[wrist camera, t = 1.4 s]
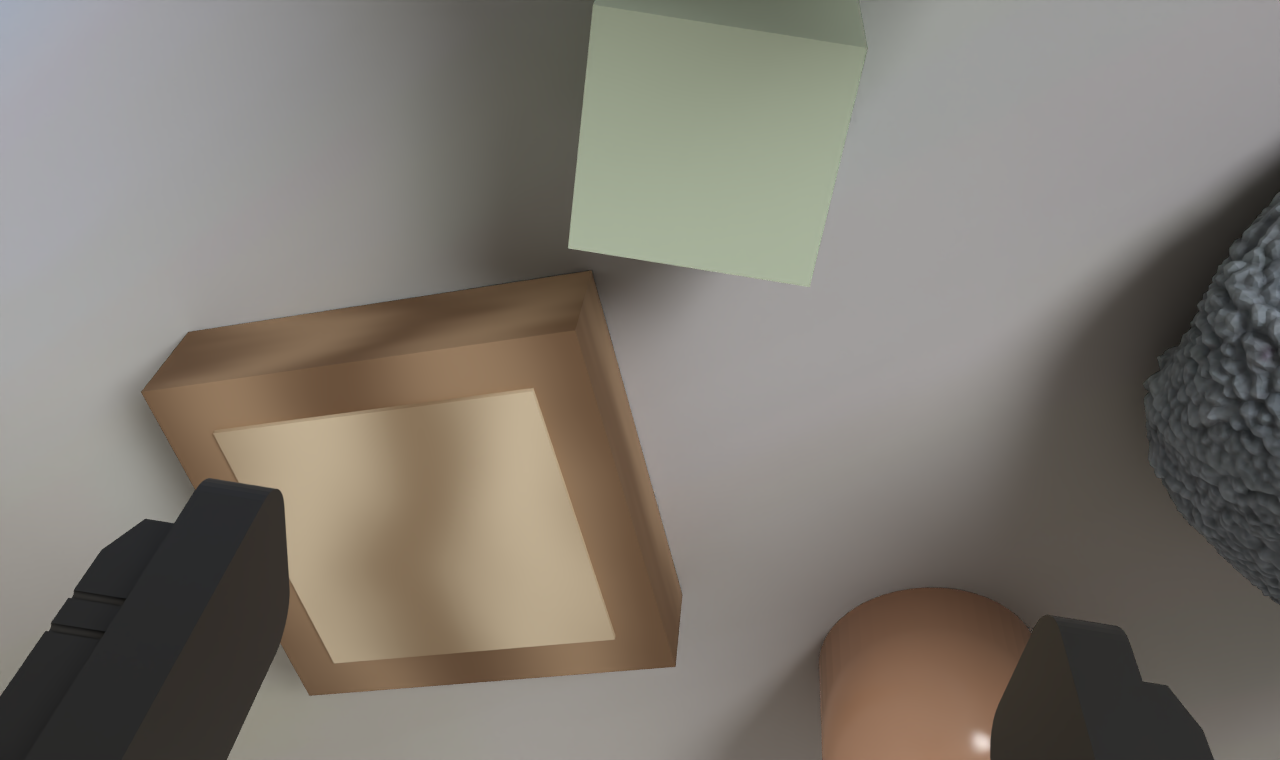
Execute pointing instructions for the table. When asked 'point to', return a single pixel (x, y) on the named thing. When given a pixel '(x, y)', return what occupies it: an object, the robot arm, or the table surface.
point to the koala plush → (1228, 409)
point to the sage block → (715, 131)
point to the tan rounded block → (917, 676)
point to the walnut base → (440, 484)
